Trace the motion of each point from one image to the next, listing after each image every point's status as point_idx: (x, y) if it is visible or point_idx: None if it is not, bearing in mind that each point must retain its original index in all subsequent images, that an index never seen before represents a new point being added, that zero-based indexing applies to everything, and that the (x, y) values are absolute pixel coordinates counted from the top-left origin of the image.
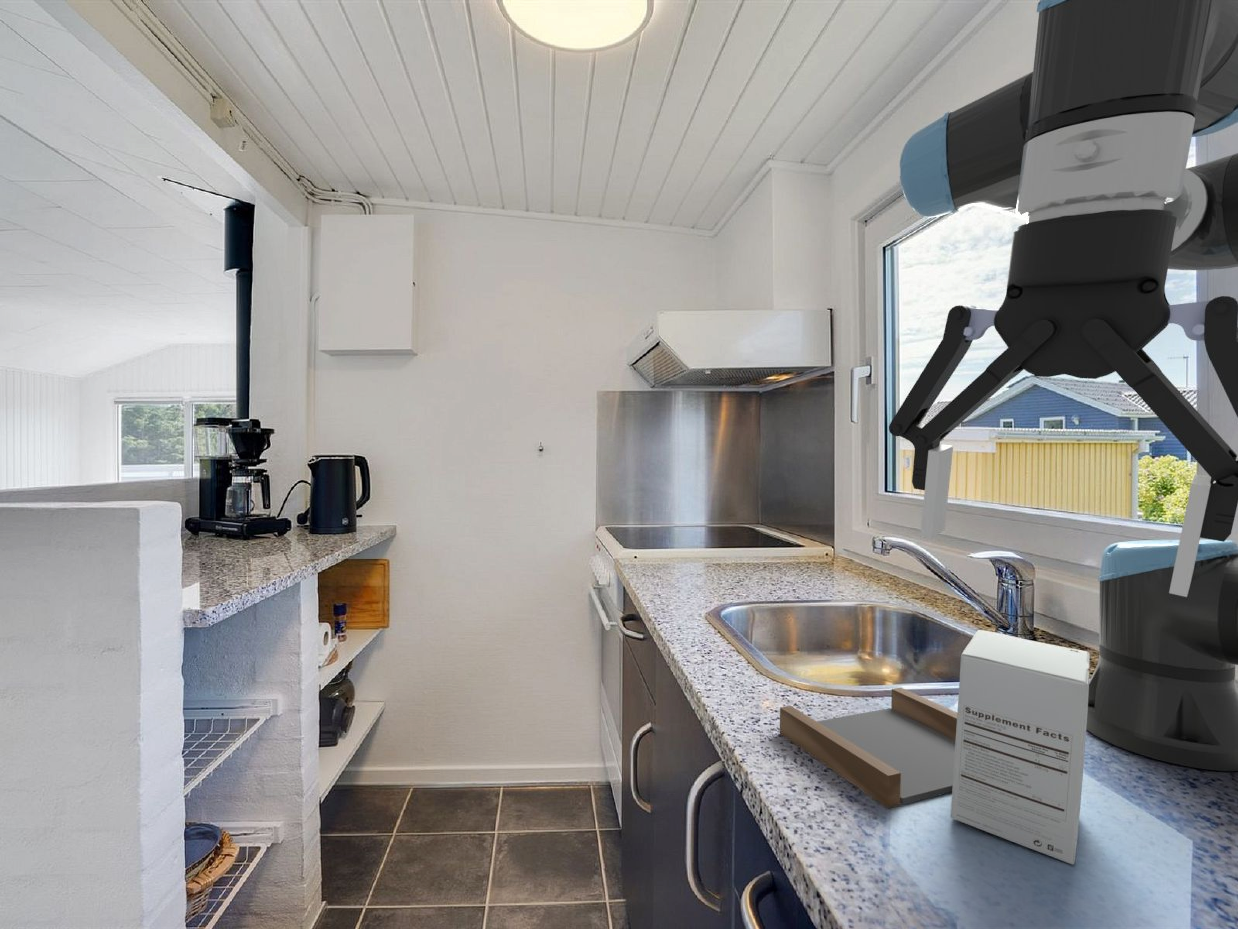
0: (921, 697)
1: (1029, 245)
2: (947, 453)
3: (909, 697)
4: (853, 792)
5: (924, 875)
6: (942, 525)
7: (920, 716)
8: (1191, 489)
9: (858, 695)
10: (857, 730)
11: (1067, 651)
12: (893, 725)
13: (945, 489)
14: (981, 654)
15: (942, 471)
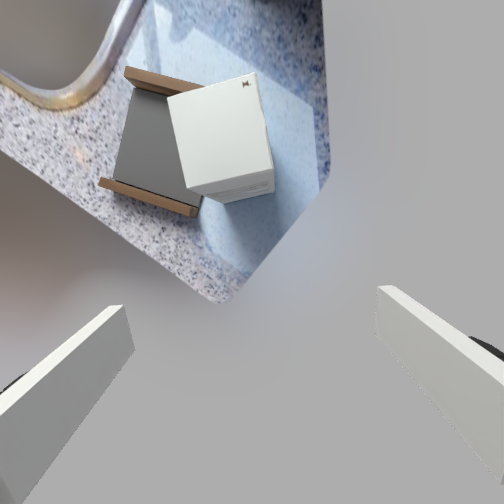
0: (145, 72)
1: None
2: (11, 448)
3: (139, 80)
4: (177, 216)
5: (232, 256)
6: (120, 318)
7: (155, 89)
8: (490, 467)
9: (105, 78)
10: (139, 146)
11: (242, 92)
12: (149, 116)
13: (80, 363)
14: (198, 178)
15: (56, 425)
